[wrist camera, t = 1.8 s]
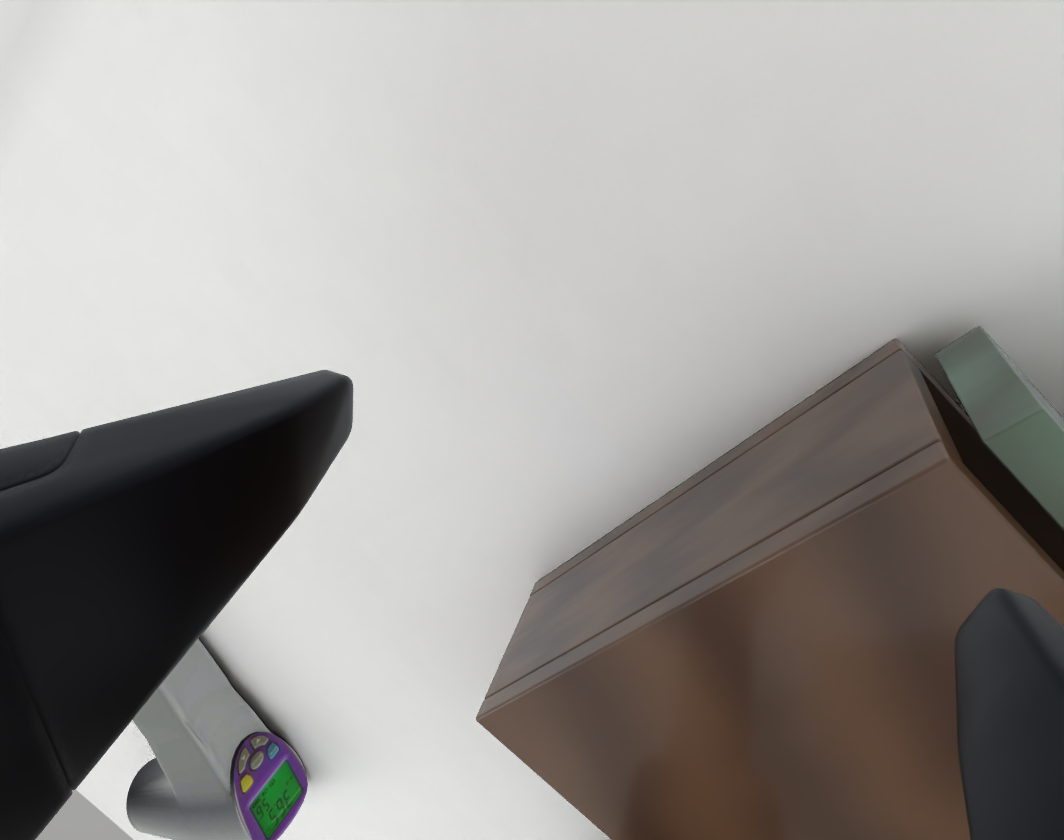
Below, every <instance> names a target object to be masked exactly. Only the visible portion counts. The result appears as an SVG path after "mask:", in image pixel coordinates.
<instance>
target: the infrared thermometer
mask: <svg viewBox="0 0 1064 840" xmlns="http://www.w3.org/2000/svg"><path fill="white" fill-rule="evenodd" d="M132 720H133V721H134V723H135V724H136V726H137V727H138V729H139V730H140V731H141V732H142V734H143V735H144V736H145V738H146V739H147V741H148V743H149V745H150V747H151V749H152V751H153V753H154V754H155V756H156V758H155V759H153V760H151V761H149V762H148V763H147V764H145V765H144V766H143V767H142V768H141V769H140V770H139V772H138V773H137V774H136V776H135V778H134V779H133V781H132V783H131V786H130V788H129V792H128V796H127V815H128V818H129V821H130V823H131V824H132V826H133V827H134V828H135V829H136V830H138V831H140V832H143V833H147V834H151V835H155V836H160V837H164V838H168V839H172V840H277V839H278V838H279V837H280V836H281V835H282V834H283V833H284V831H285V830H286V829H287V827H288V826H289V825H290V823H291V822H292V820H293V819H294V817H295V816H296V814H297V813H298V811H299V809H300V807H301V805H302V803H303V801H304V798H305V795H306V792H307V785H308V784H307V777H306V773H305V770H304V767H303V764H302V762H301V760H300V758H299V757H298V755H297V754H296V752H295V751H294V750H293V749H292V748H291V747H290V746H289V745H288V744H287V743H286V742H285V741H283V740H282V739H281V738H279V737H278V736H276V735H274V734H272V733H271V732H270V731H269V730H268V728H267V727H266V726H265V725H264V724H263V722H262V721H261V720H260V719H259V717H258V716H257V715H256V713H255V712H254V711H253V710H252V709H251V707H250V706H249V705H248V704H247V703H246V702H245V701H244V700H243V699H242V698H241V696H240V695H239V694H238V693H237V692H236V691H235V690H234V689H233V687H232V686H231V684H230V682H229V681H228V679H227V678H226V676H225V675H224V673H223V672H222V671H221V669H220V668H219V666H218V665H217V664H216V662H215V661H214V659H213V658H212V657H211V655H210V654H209V652H208V651H207V650H206V648H205V647H204V645H203V644H202V643H201V641H200V640H199V638H198V640H197V641H196V642H195V643H194V645H193V646H192V647H191V648H190V649H189V651H188V652H187V653H186V654H185V656H184V657H183V658H182V659H181V661H180V662H179V663H178V664H177V665H176V667H175V668H174V669H173V670H172V672H171V673H170V674H169V675H168V677H167V678H166V679H165V680H164V681H163V683H162V684H161V685H160V686H159V688H158V689H157V690H156V691H155V692H154V694H153V695H152V696H151V697H150V699H149V700H148V701H147V702H146V704H145V705H144V706H143V707H142V708H141V710H140V711H139V712H138V713H137V715H136V716H135V717H134V718H133V719H132Z"/></svg>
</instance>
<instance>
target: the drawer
mask: <svg viewBox="0 0 1064 840" xmlns="http://www.w3.org/2000/svg"><path fill="white" fill-rule="evenodd" d="M935 356H936V358H937V359H938V361H939V363H940V365H941V367H942V369H943V370H944V372H945V374H946V376H947V378H948V380H949V382H950V383H951V385H952V387H953V389H954V391H955V393H956V394H957V396H958V398H959V400H960V402H961V404H962V405H963V407H964V409H965V411H966V413H967V415H968V416H969V418H970V420H971V422H972V424H973V426H974V427H975V429H976V431H977V433H978V435H979V437H980V439H981V440H982V442H983V444H984V445H985V446H986V447H987V448H988V449H989V450H990V451H991V452H992V453H993V454H994V456H995V457H996V458H997V459H998V460H999V461H1000V462H1001V463H1002V464H1003V465H1004V466H1005V468H1006V469H1007V470H1008V471H1009V472H1010V473H1011V474H1012V475H1013V476H1014V477H1015V478H1016V480H1017V481H1018V482H1019V483H1020V484H1021V485H1022V486H1023V487H1024V488H1025V489H1026V490H1027V491H1028V493H1029V494H1030V495H1031V496H1032V497H1033V498H1034V499H1035V500H1036V501H1037V502H1038V503H1039V505H1040V506H1041V507H1042V508H1043V509H1044V510H1045V511H1046V512H1047V513H1048V514H1049V515H1050V516H1051V518H1052V519H1053V520H1054V521H1055V522H1056V523H1057V524H1058V525H1059V526H1060V527H1061V528H1062V530H1063V531H1064V419H1063V418H1062V417H1061V416H1060V415H1059V413H1058V412H1057V411H1056V410H1055V409H1054V408H1053V407H1052V406H1051V405H1050V403H1049V402H1048V401H1047V400H1046V399H1045V398H1044V397H1043V396H1042V394H1041V393H1040V392H1039V391H1038V390H1037V389H1036V388H1035V387H1034V385H1033V384H1032V383H1031V382H1030V381H1029V380H1028V379H1027V378H1026V376H1025V375H1024V374H1023V373H1022V372H1021V371H1020V370H1019V369H1018V368H1017V366H1016V365H1015V364H1014V363H1013V362H1012V361H1011V360H1010V359H1009V357H1008V356H1007V355H1006V354H1005V353H1004V352H1003V351H1002V350H1001V348H1000V347H999V346H998V345H997V344H996V343H995V342H994V341H993V340H992V338H991V337H990V336H989V335H988V334H987V333H986V332H985V331H984V329H983V328H982V327H981V326H977V327H976V328H974V329H973V330H971V331H970V332H968V333H967V334H965V335H963V336H962V337H960V338H959V339H957V340H956V341H954V342H953V343H951V344H949V345H948V346H946V347H945V348H943V349H942V350H940V351H939V352H937V353H936V354H935Z"/></svg>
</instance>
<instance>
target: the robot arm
mask: <svg viewBox="0 0 1064 840" xmlns="http://www.w3.org/2000/svg"><path fill="white" fill-rule="evenodd" d="M352 420H353V383H352V381H351V379H350V378H349V377H347V376H344V375H341V374H338V373H335V372H332V371H329V370H321V371H317V372H313V373H309V374H305V375H301V376H297V377H293V378H289V379H285V380H281V381H276V382H272V383H268V384H264V385H260V386H256V387H252V388H248V389H244V390H240V391H236V392H232V393H228V394H224V395H220V396H216V397H212V398H208V399H204V400H200V401H196V402H192V403H188V404H184V405H180V406H176V407H172V408H168V409H164V410H160V411H156V412H152V413H147V414H143V415H139V416H135V417H131V418H127V419H123V420H119V421H115V422H111V423H107V424H103V425H99V426H95V427H91V428H87V429H84V430H82V431H81V433H79V432H78V431H74V432H70V433H66V434H62V435H58V436H54V437H51V438H47V439H42V440H38V441H34V442H29V443H25V444H21V445H16V446H12V447H8V448H4V449H0V840H35V839H36V838H37V837H38V836H39V834H40V833H41V832H42V831H43V829H44V828H45V827H46V826H47V825H48V823H49V822H50V821H51V820H52V818H53V817H54V816H55V815H56V814H57V812H58V811H59V810H60V809H61V807H62V806H63V805H64V804H65V802H66V801H67V800H68V799H69V798H70V796H71V795H72V790H75V789H76V788H77V787H78V786H79V785H80V783H81V782H82V781H83V780H84V778H85V777H86V776H87V775H88V774H89V772H90V771H91V770H92V769H93V767H94V766H95V765H96V764H97V762H98V761H99V760H100V759H101V758H102V756H103V755H104V754H105V753H106V751H107V750H108V749H109V748H110V747H111V745H112V744H113V743H114V742H115V740H116V739H117V738H118V737H119V735H120V734H121V733H122V732H123V731H124V729H125V728H126V727H127V726H128V724H129V723H130V722H131V721H132V719H133V718H134V717H135V716H136V715H137V713H138V712H139V711H140V710H141V708H142V707H143V706H144V705H145V704H146V702H147V701H148V700H149V699H150V697H151V696H152V695H153V694H154V692H155V691H156V690H157V689H158V688H159V686H160V685H161V684H162V683H163V681H164V680H165V679H166V678H167V677H168V675H169V674H170V673H171V672H172V670H173V669H174V668H175V667H176V665H177V664H178V663H179V662H180V661H181V659H182V658H183V657H184V656H185V654H186V653H187V652H188V651H189V649H190V648H191V647H192V646H193V645H194V643H195V642H196V641H197V640H198V638H199V637H200V636H201V635H202V634H203V632H204V631H205V630H206V629H207V627H208V626H209V625H210V624H211V622H212V621H213V620H214V619H215V618H216V616H217V615H218V614H219V613H220V611H221V610H222V609H223V608H224V607H225V605H226V604H227V603H228V602H229V600H230V599H231V598H232V597H233V595H234V594H235V593H236V592H237V591H238V589H239V588H240V587H241V586H242V584H243V583H244V582H245V581H246V580H247V578H248V577H249V576H250V575H251V573H252V572H253V571H254V570H255V568H256V567H257V566H258V565H259V564H260V562H261V561H262V560H263V559H264V557H265V556H266V555H267V554H268V552H269V551H270V550H271V549H272V548H273V546H274V545H275V544H276V543H277V541H278V540H279V539H280V538H281V537H282V535H283V534H284V533H285V532H286V530H287V529H288V528H289V527H290V525H291V524H292V523H293V521H294V520H295V519H296V518H297V516H298V515H299V513H300V512H301V511H302V509H303V508H304V506H305V505H306V503H307V502H308V500H309V499H310V497H311V495H312V494H313V492H314V491H315V489H316V488H317V486H318V484H319V483H320V481H321V480H322V478H323V477H324V475H325V473H326V472H327V470H328V469H329V467H330V466H331V464H332V462H333V461H334V459H335V458H336V456H337V454H338V453H339V451H340V450H341V448H342V447H343V445H344V443H345V442H346V440H347V439H348V437H349V434H350V432H351V428H352ZM954 649H955V683H956V718H957V743H958V756H959V764H960V772H961V779H962V786H963V792H964V799H965V806H966V812H967V819H968V826H969V832H970V839H971V840H1064V627H1063V626H1062V625H1061V624H1060V623H1059V622H1058V621H1057V620H1056V619H1055V618H1054V617H1053V616H1052V615H1051V614H1050V613H1048V612H1047V611H1046V610H1045V609H1044V608H1043V607H1042V606H1041V605H1040V604H1039V603H1038V602H1037V601H1036V600H1034V599H1033V598H1031V597H1029V596H1025V595H1022V594H1019V593H1016V592H1013V591H1010V590H1007V589H1004V588H996V589H993V590H991V591H990V592H989V593H988V594H987V595H986V596H985V597H984V598H983V599H982V601H981V602H980V603H979V604H978V605H977V607H976V608H975V609H974V610H973V611H972V613H971V614H970V615H969V616H968V617H967V619H966V620H965V621H964V622H963V624H962V625H961V626H960V628H959V630H958V632H957V634H956V637H955V646H954Z"/></svg>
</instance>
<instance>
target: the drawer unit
mask: <svg viewBox="0 0 1064 840" xmlns="http://www.w3.org/2000/svg"><path fill="white" fill-rule="evenodd" d="M996 588H1004V589H1007V590H1010V591H1013V592H1016V593H1019V594H1022V595H1025V596H1029V597H1031V598H1033V599H1034V600H1036V601H1037V602H1038V603H1039V604H1040V605H1041V606H1042V607H1043V608H1044V609H1045V610H1046V611H1047V612H1048V613H1050V614H1051V615H1052V616H1053V617H1054V618H1055V619H1056V620H1057V621H1058V622H1059V623H1060V624H1061V625H1062V626H1063V627H1064V531H1063V530H1062V528H1061V527H1060V526H1059V525H1058V524H1057V523H1056V522H1055V521H1054V520H1053V519H1052V518H1051V516H1050V515H1049V514H1048V513H1047V512H1046V511H1045V510H1044V509H1043V508H1042V507H1041V506H1040V505H1039V503H1038V502H1037V501H1036V500H1035V499H1034V498H1033V497H1032V496H1031V495H1030V494H1029V493H1028V491H1027V490H1026V489H1025V488H1024V487H1023V486H1022V485H1021V484H1020V483H1019V482H1018V481H1017V480H1016V478H1015V477H1014V476H1013V475H1012V474H1011V473H1010V472H1009V471H1008V470H1007V469H1006V468H1005V466H1004V465H1003V464H1002V463H1001V462H1000V461H999V460H998V459H997V458H996V457H995V456H994V454H993V453H992V452H991V451H990V450H989V449H988V448H987V447H986V446H985V445H984V444H983V442H982V440H981V439H980V437H979V435H978V433H977V431H976V429H975V427H974V426H973V424H972V422H971V420H970V418H969V417H968V416H967V415H966V413H965V412H964V411H963V410H962V409H961V408H960V407H959V406H958V405H957V404H956V403H955V401H954V400H953V399H952V398H951V397H950V396H949V395H948V394H947V393H946V392H945V391H944V389H943V388H942V387H941V386H940V385H939V384H938V383H937V382H936V381H935V380H934V379H933V377H932V376H931V375H930V374H929V373H928V372H927V371H926V370H925V369H924V368H923V367H922V365H921V364H920V363H919V362H918V361H917V360H916V359H915V358H914V357H913V356H912V355H911V353H910V352H909V351H908V350H907V349H906V348H905V347H904V346H903V345H902V344H901V343H900V341H899V340H898V339H894V340H893V341H891V342H890V343H888V344H887V345H885V346H884V347H882V348H881V349H879V350H878V351H876V352H875V353H873V354H872V355H870V356H869V357H868V358H866V359H865V360H863V361H862V362H860V363H859V364H857V365H856V366H854V367H853V368H851V369H850V370H848V371H847V372H845V373H844V374H843V375H841V376H840V377H838V378H837V379H835V380H834V381H832V382H831V383H829V384H828V385H826V386H825V387H823V388H822V389H820V390H819V391H817V392H816V393H815V394H813V395H812V396H810V397H809V398H807V399H806V400H804V401H803V402H801V403H800V404H798V405H797V406H795V407H794V408H792V409H791V410H789V411H788V412H787V413H785V414H784V415H782V416H781V417H779V418H778V419H776V420H775V421H773V422H772V423H770V424H769V425H767V426H766V427H764V428H763V429H762V430H760V431H759V432H757V433H756V434H754V435H753V436H751V437H750V438H748V439H747V440H745V441H744V442H742V443H741V444H739V445H738V446H736V447H735V448H734V449H732V450H731V451H729V452H728V453H726V454H725V455H723V456H722V457H720V458H719V459H717V460H716V461H714V462H713V463H711V464H710V465H709V466H707V467H706V468H704V469H703V470H701V471H700V472H698V473H697V474H695V475H694V476H692V477H691V478H689V479H688V480H686V481H685V482H683V483H682V484H681V485H679V486H678V487H676V488H675V489H673V490H672V491H670V492H669V493H667V494H666V495H664V496H663V497H661V498H660V499H658V500H657V501H655V502H654V503H653V504H651V505H650V506H648V507H647V508H645V509H644V510H642V511H641V512H639V513H638V514H636V515H635V516H633V517H632V518H630V519H629V520H628V521H626V522H625V523H623V524H622V525H620V526H619V527H617V528H616V529H614V530H613V531H611V532H610V533H608V534H607V535H605V536H604V537H602V538H601V539H600V540H598V541H597V542H595V543H594V544H592V545H591V546H589V547H588V548H586V549H585V550H583V551H582V552H580V553H579V554H577V555H576V556H575V557H573V558H572V559H570V560H569V561H567V562H566V563H564V564H563V565H561V566H560V567H558V568H557V569H555V570H554V571H552V572H551V573H549V574H548V575H547V576H545V577H544V578H542V579H541V580H539V581H538V582H536V583H535V585H534V587H533V590H532V592H531V594H530V597H529V600H528V602H527V604H526V606H525V609H524V611H523V613H522V615H521V618H520V620H519V622H518V624H517V627H516V629H515V631H514V633H513V636H512V638H511V640H510V642H509V645H508V647H507V649H506V651H505V654H504V656H503V658H502V660H501V663H500V665H499V667H498V669H497V672H496V674H495V676H494V678H493V681H492V683H491V685H490V687H489V690H488V692H487V694H486V696H485V700H484V701H483V703H482V706H481V708H480V710H479V712H478V715H477V717H476V721H477V722H478V723H480V724H481V725H482V726H483V727H484V728H485V729H486V730H488V731H489V732H490V733H491V734H492V735H493V736H494V737H496V738H497V739H498V740H499V741H500V742H501V743H502V744H503V745H505V746H506V747H507V748H508V749H509V750H510V751H511V752H513V753H514V754H515V755H516V756H517V757H518V758H519V759H521V760H522V761H523V762H524V763H525V764H526V765H527V766H528V767H530V768H531V769H532V770H533V771H534V772H535V773H536V774H538V775H539V776H540V777H541V778H542V779H543V780H544V781H546V782H547V783H548V784H549V785H550V786H551V787H552V788H553V789H555V790H556V791H557V792H558V793H559V794H560V795H561V796H563V797H564V798H565V799H566V800H567V801H568V802H569V803H571V804H572V805H573V806H574V807H575V808H576V809H577V810H578V811H580V812H581V813H582V814H583V815H584V816H585V817H586V818H588V819H589V820H590V821H591V822H592V823H593V824H594V825H596V826H597V827H598V828H599V829H600V830H601V831H602V832H604V833H605V834H606V835H607V836H608V837H609V838H610V839H611V840H971V839H970V832H969V826H968V819H967V812H966V806H965V799H964V792H963V786H962V779H961V772H960V764H959V756H958V743H957V718H956V683H955V649H954V646H955V637H956V634H957V632H958V630H959V628H960V626H961V625H962V624H963V622H964V621H965V620H966V619H967V617H968V616H969V615H970V614H971V613H972V611H973V610H974V609H975V608H976V607H977V605H978V604H979V603H980V602H981V601H982V599H983V598H984V597H985V596H986V595H987V594H988V593H989V592H990V591H991V590H993V589H996Z"/></svg>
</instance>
